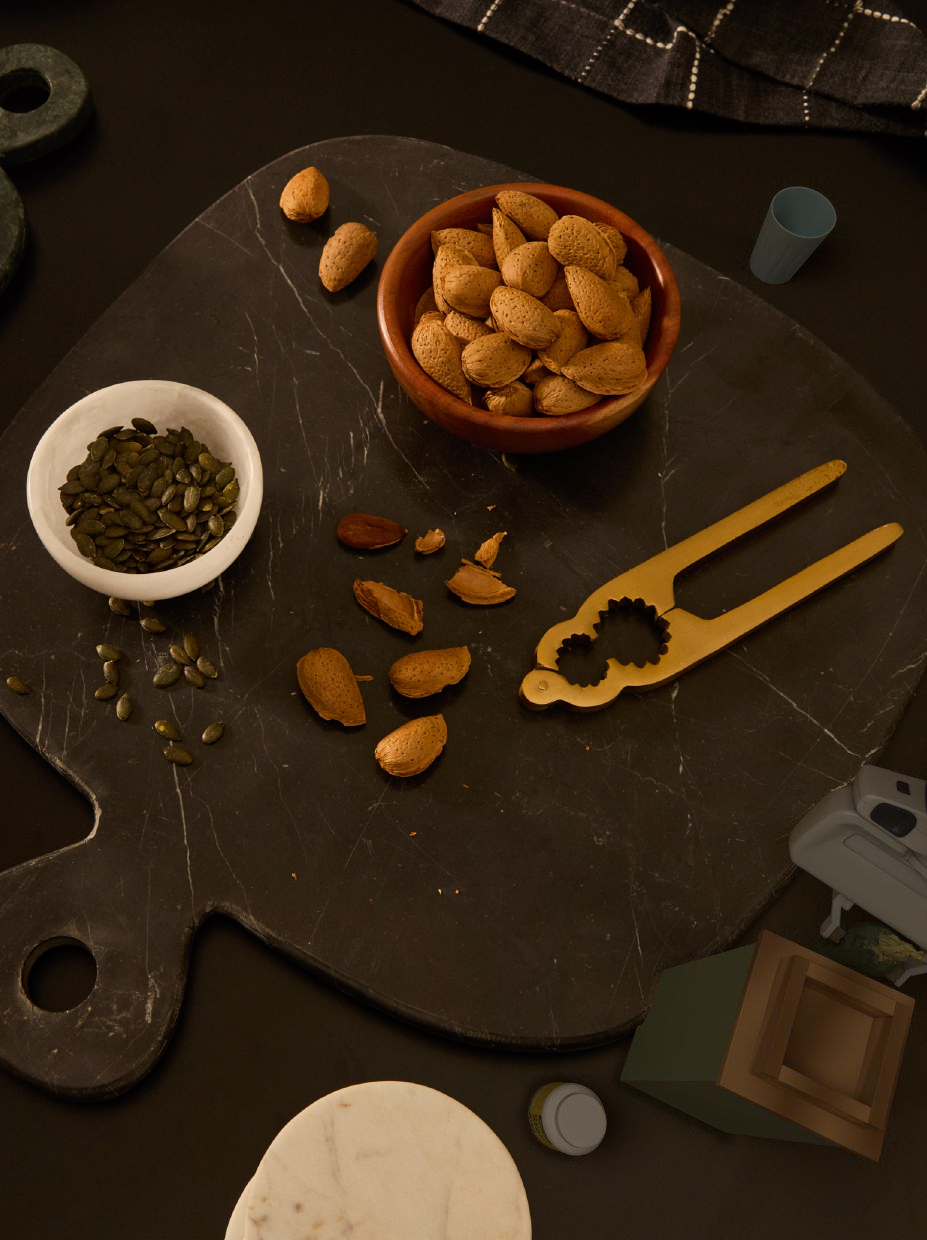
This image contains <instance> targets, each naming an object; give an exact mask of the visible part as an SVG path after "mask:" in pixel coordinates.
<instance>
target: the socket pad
mask: <svg viewBox="0 0 927 1240" xmlns="http://www.w3.org/2000/svg"><path fill="white" fill-rule="evenodd" d="M755 943H756V946H755V950H754V953H753V957H752V960H751V963H750V967H749V970H748V974H747V977H746V981H745V984H744V987H743V991H742V994H741V998H740V1001H739V1005H738V1008H737V1011H736V1015H735V1018H734V1022H733V1025H732V1029H731V1032H730V1035H729V1039H728V1042H727V1046H726V1049H725V1053H724V1056H723V1059H722V1063H721V1066H720V1070H719V1073H718V1077H717V1080H716V1083H715V1085H716V1086H718V1087H720V1088H722V1089H724V1090H726V1091H728V1092H730V1093H732V1094H735V1095H737V1096H739V1097H741V1098H743V1099H745V1100H747V1101H749V1102H751V1103H753V1104H755V1105H757V1106H759V1107H761V1108H763V1109H765V1110H767V1111H769V1112H771V1113H773V1114H775V1115H777V1116H779V1117H781V1118H783V1119H785V1120H787V1121H789V1122H791V1123H794V1124H796V1125H798V1126H800V1127H802V1128H804V1129H806V1130H808V1131H810V1132H812V1133H814V1134H816V1135H818V1136H820V1137H822V1138H824V1139H826V1140H828V1141H830V1142H832V1143H834V1144H836V1145H838V1146H840V1147H839V1148H842V1149H844V1150H846V1151H849V1152H850V1153H852V1154H854V1155H856V1156H859V1157H860V1158H863V1159H864V1160H867V1161H869V1162H871V1163H879V1162H880V1158H881V1153H882V1148H883V1145H884V1141H885V1137H886V1132H887V1127H888V1123H889V1118H890V1113H891V1109H892V1105H893V1101H894V1097H895V1091H896V1087H897V1083H898V1079H899V1075H900V1069H901V1065H902V1062H903V1061H902V1060H903V1057H904V1052H905V1047H906V1044H907V1039H908V1036H909V1035H908V1034H909V1031H910V1026H911V1021H912V1019H913V1018H912V1017H913V1013H914V1008H915V1004H916V999H915V998H913V997H912V996H909V995H907V994H905V993H903V992H901V991H899V990H897V989H894V988H892V987H890V986H888V985H886V984H883V983H882V982H879V981H877V980H875V979H874V978H870V976H868V975H863V974H860V973H858V972H856V971H854V970H852V969H850V968H847V967H845V966H843V965H841V964H839V963H837V962H835V961H833V960H830V959H828V958H826V957H824V956H822V955H820V954H818V953H815V952H813V951H811V950H809V949H807V948H805V946H802V945H801V944H799V943H796V942H794V941H792V940H791V939H788V938H785V937H784V936H781V935H780V934H777V933H775V932H772V931H771V930H768V929H766V928H764V929H760V930H759V932H758V936H757V940H756V942H755Z"/></svg>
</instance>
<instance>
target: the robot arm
mask: <svg viewBox="0 0 927 1240" xmlns="http://www.w3.org/2000/svg"><path fill="white" fill-rule="evenodd" d="M788 852H789V857H790V860H791V862H792V863H793V864H794V865H796V866H798V867H799V868H801V869H802V870H804V872H807V873H808V874H810V875H812V877H814V878H816V879H818V880H819V881H821V882H822V883H823V884H825V885H826V886H827V887H829V888H831V889H832V892H831V906H830V914H829V915H828V916H827V917H826V918H825V920H824V921H823V922H822V923H821V926H820V928H819V936H822V937H824V938H826V939H827V940H829V941H830V942H832V943H833V944H835V945H838V944H839V943H840V939H842V938H844V937H845V936H846V934H847V933H848V929H847V926H848V925H849V924H848V921H847V920H845V919H843V917H841V913H842V909H844V910H845V911H850V909H852V907H853V906H854V905H856V906H858V907H859V908H861V909H863V910H864V911H865V912H867V913H868V914H870V915H872V916H873V917H875V918H876V919H878V920H879V921H881V922H882V923H884V925H886V926H887V927H889V928H890V929H892V930H893V931H895V932H896V933H899V934H900V935H902V936H903V937H905V938H906V939H907V940H910V941H911V943H914V944H916V945H917V946H918V947H919V949H920V950H919V951H923V953H924V957H925V958H926V959H923V962H922V963H919V962H918V961H917V959H914V958H913V957H912V956H909V957H908V958H907V960H905V961H902V963H901V965H900V966H899V967H898V969H897V970H895V971H894V972H893V973H891V974H889V975H886V976H881V977H882V978H883V979H885V980H886V981H888V982H889V983H891V984H892V985H893V986H895V987H896V988H900V987H902V986H903V984H905V982H906V981H907V980H908V979H909V978H910V977H911V976H912V977H913V976H918V975H922V974H927V780H925V779H921V778H917V777H913V776H909V775H906V774H902V773H899V772H897V771H893V770H890V769H886V768H883V767H881V766H877V765H872V764H864V765H863V766H861V767H860V768H859V769H858V771H857V772H856V774H855V776H854V779H853V783H852V786H842V787H838V788H836V789H834V790H832V791H830V792H828V793H827V794H826V795H824V797H823V798H821V799H820V800H819V801H818V802H817V803H816V804H815V805H814V806H812V808H810V809H809V810H808V811H807V812H806V814H805V815H804V816H803V817H802V818H801V819H800V820H799V821H798V823H797V824H796V825H795V826H794V827H793V828H792V830H791V832H790V834H789V838H788Z"/></svg>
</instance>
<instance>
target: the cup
mask: <svg viewBox="0 0 927 1240" xmlns="http://www.w3.org/2000/svg"><path fill="white" fill-rule="evenodd" d="M836 223H837V212H836V209H835V207H834V205H833V204H832V202H831V201H830V200H829V198H827V197H826V196H825V195H823V194H822V193H820V192H818V191H817V190H815V189H812V188H809V187H805V186H789V187H786V188H783V189H781V190H779V191H778V192H777V193H775V195H773V198H772V199H771V202H770V204H769V207H768V210H767V213H766V216H765V218H764V220H763V223H762V226H761V228H760V231H759V234H758V237H757V239H756V242H755V245H754V247H753V249H752V253H751V255H750V258H749V268H750V270H751V273H752V275H754V277H756V278H757V279H759V280H760V281H761V282H762V283H763V282H764V283H767V284H769V285H783V284H784V283H788V282H789V281H790V280H791V279H792V278H793V277H794V275H796V274H797V272H798V271H799V270H800V269H801V267H802V266H803V265H804V263H806V261H807V260H808V259H809V258H810V256H811V255H812V254H813V253H814V252H815V251H816V249H818V247H819V246H820V244H822V242H823V241H824V240H825V239H826V238H827V237H828V236H829V235H830V233H831V232H832V231H833V229H834V228H835V226H836Z"/></svg>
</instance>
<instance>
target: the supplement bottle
mask: <svg viewBox="0 0 927 1240" xmlns="http://www.w3.org/2000/svg"><path fill="white" fill-rule="evenodd" d="M605 1109H606V1108H605V1107H604V1104H603V1102H602V1101H601V1099H600V1098H599V1096H598V1095H597V1094H596V1093H595V1092H594V1091H593V1090H591V1088H589V1087H587V1086H585V1085H583V1084H580V1083H576V1082H567V1081H564V1082H563V1081H552V1082H548V1083H546V1084H544V1085H542V1086H540V1087H539V1088H538V1089H537V1090H536V1091H535V1093H534V1094H533V1096H532V1097H531V1099H530V1102H529V1105H528V1112H527V1113H528V1122H529V1125H530V1128H531V1130H532V1133H533V1134H534V1136H535V1138H536V1139H537V1140H538V1141H539V1142H540V1143H541V1144H542V1145H544V1146H546V1147H547V1148H549V1149H551V1150H554V1151H557V1152H560V1153H562V1154H565V1155H568V1156H578V1157H579V1156H584V1155H587V1154H590V1153H592V1152H594V1150H595V1149H597V1148H598V1147H599V1145H600V1144H601V1143H602V1141H603V1139H604V1137H605V1135H606V1131H607V1123H608V1122H607V1113H606V1110H605Z"/></svg>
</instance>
